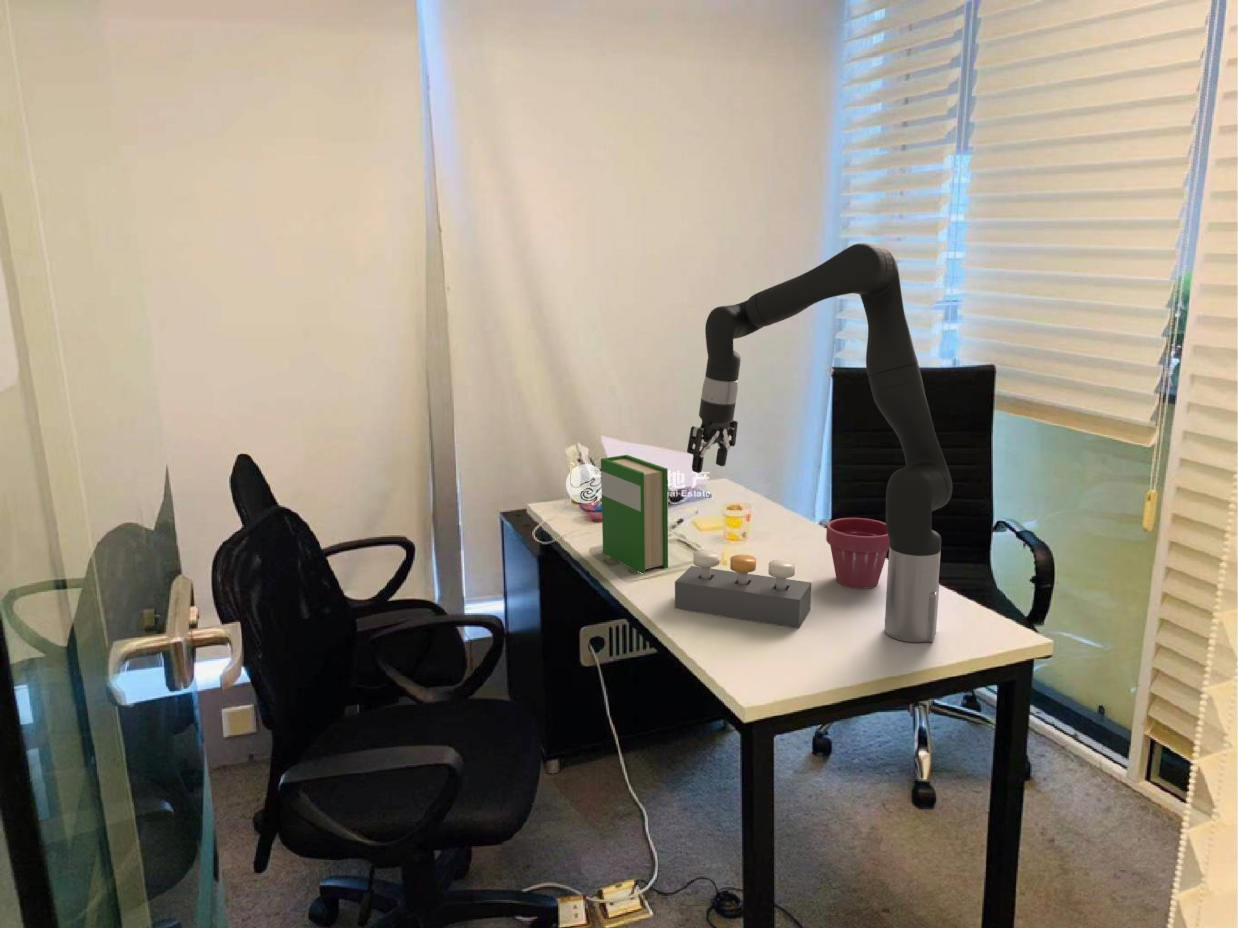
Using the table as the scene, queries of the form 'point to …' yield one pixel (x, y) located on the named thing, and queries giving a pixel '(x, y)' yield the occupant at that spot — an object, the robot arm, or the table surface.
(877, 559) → the plant pot
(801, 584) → the control block
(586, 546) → the table surface
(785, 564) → the near knob
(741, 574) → the middle knob
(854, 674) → the table surface
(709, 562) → the far knob
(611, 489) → the hardback book
